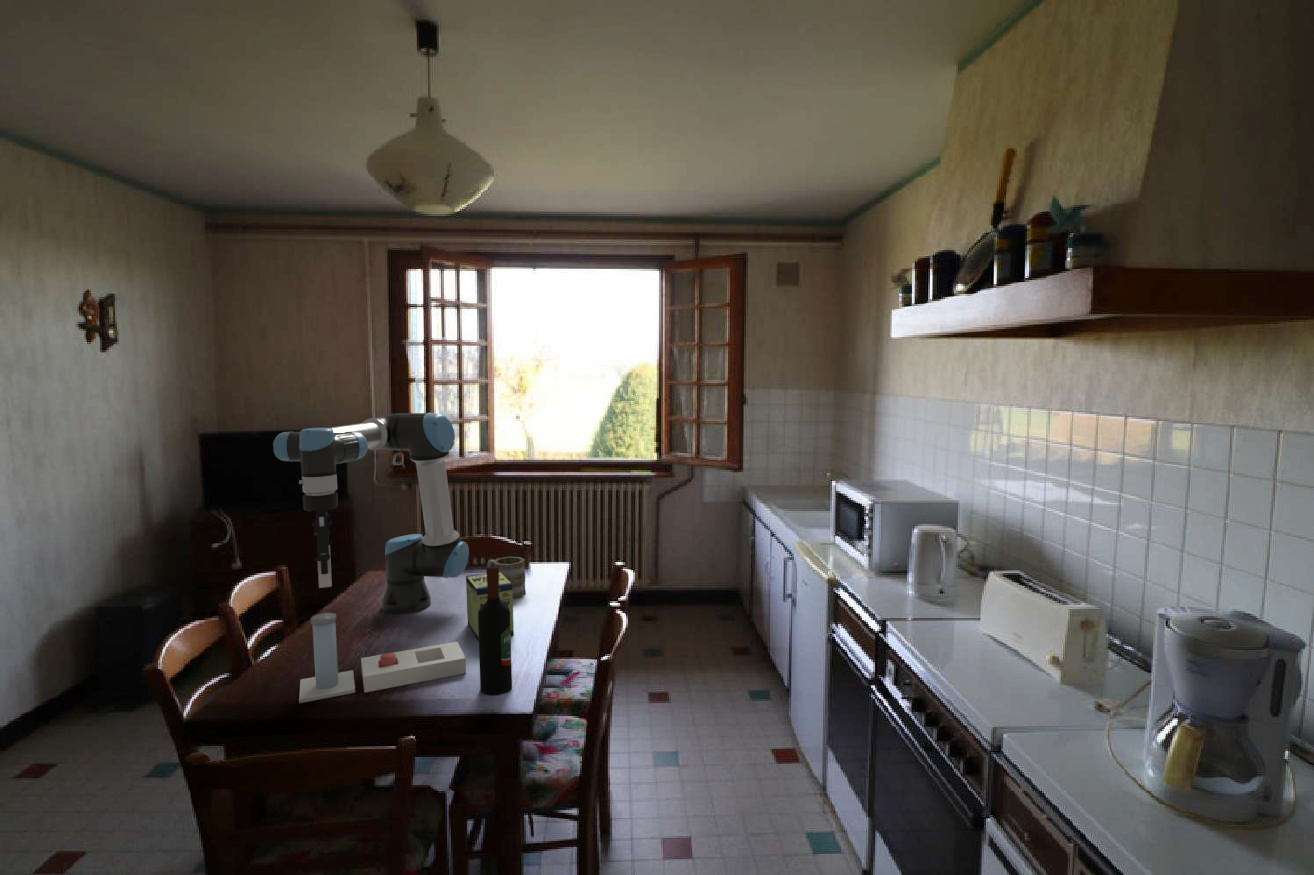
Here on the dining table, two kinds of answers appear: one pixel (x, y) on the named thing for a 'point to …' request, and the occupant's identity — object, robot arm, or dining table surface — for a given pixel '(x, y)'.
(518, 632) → the dining table surface
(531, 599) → the dining table surface
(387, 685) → the block
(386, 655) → the plunger
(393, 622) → the dining table surface
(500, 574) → the protein box
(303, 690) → the pad
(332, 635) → the cylinder
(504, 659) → the wine bottle
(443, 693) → the dining table surface
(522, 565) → the mug
